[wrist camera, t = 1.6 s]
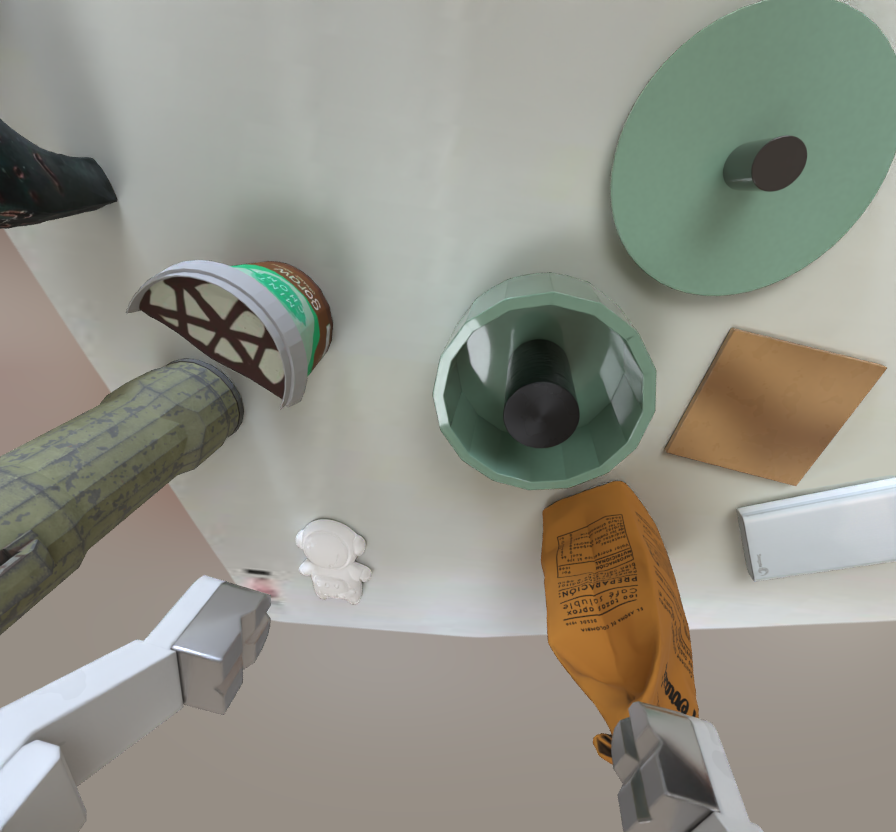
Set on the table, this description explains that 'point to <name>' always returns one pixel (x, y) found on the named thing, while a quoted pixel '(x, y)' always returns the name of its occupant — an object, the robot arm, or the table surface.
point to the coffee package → (615, 606)
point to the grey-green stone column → (103, 473)
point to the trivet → (771, 406)
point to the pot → (592, 368)
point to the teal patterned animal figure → (46, 183)
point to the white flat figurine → (333, 560)
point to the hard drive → (820, 531)
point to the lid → (755, 146)
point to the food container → (245, 318)
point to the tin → (540, 395)
